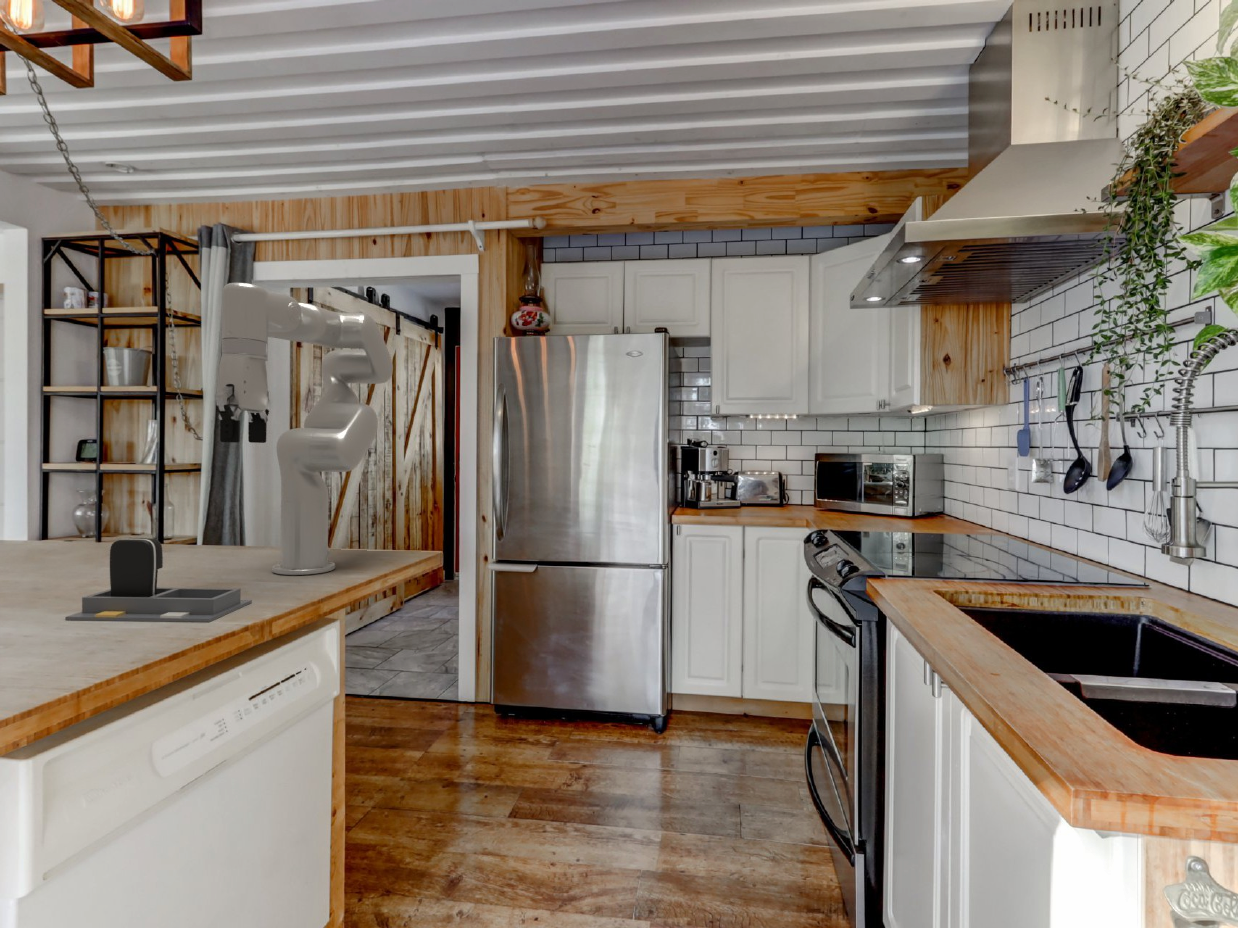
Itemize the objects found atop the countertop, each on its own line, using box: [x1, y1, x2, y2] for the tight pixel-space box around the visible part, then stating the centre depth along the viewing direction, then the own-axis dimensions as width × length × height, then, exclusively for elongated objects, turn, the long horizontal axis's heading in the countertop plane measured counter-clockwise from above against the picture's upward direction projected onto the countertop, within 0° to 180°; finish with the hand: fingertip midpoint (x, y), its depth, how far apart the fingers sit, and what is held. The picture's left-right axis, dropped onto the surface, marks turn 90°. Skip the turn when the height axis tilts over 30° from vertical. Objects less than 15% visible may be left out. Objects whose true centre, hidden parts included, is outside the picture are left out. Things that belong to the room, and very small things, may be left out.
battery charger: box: [109, 537, 164, 597], centre depth 111 cm, size 7×4×11 cm, turn 92°
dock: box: [64, 587, 253, 623], centre depth 111 cm, size 13×22×3 cm, turn 92°
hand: (244, 442), depth 125 cm, fingers open, 9 cm apart
